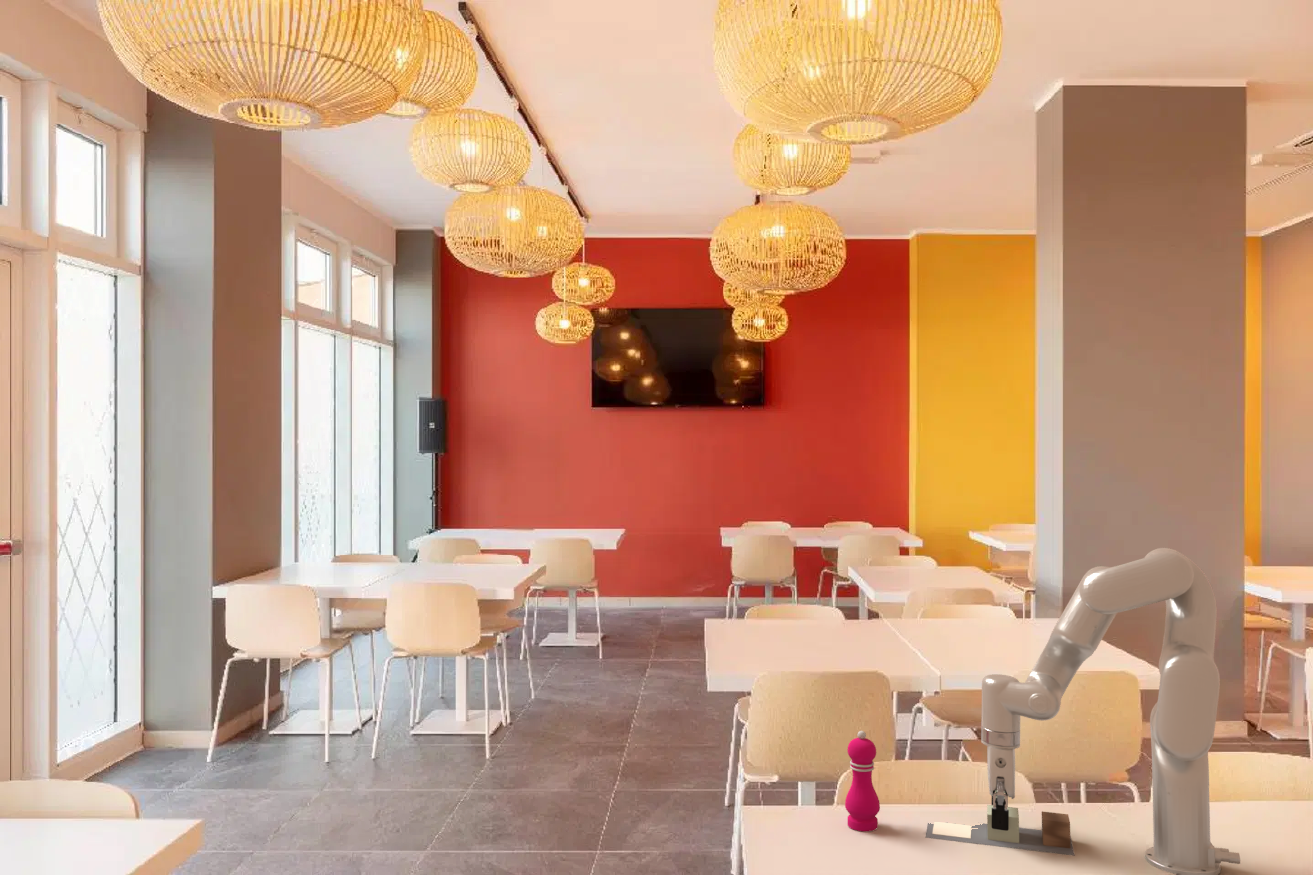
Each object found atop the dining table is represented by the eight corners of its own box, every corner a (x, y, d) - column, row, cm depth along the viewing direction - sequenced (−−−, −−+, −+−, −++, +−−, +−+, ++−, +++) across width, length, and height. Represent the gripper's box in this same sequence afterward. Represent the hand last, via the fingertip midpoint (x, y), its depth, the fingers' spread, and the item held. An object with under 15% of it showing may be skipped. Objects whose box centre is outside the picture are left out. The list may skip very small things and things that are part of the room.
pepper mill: (880, 833, 195) (879, 736, 196) (845, 831, 197) (844, 734, 198) (879, 821, 203) (878, 727, 203) (845, 818, 204) (844, 725, 205)
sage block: (1018, 832, 195) (1018, 807, 195) (1019, 843, 189) (1018, 817, 190) (987, 828, 197) (987, 804, 197) (987, 839, 191) (987, 814, 192)
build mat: (1069, 835, 195) (1069, 832, 195) (1074, 857, 183) (1074, 854, 183) (928, 818, 204) (928, 816, 204) (925, 839, 193) (925, 836, 193)
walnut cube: (1068, 839, 191) (1068, 814, 192) (1070, 848, 187) (1070, 822, 187) (1042, 835, 193) (1041, 811, 193) (1043, 845, 188) (1042, 819, 189)
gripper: (1021, 750, 185) (1020, 838, 184) (1018, 727, 201) (1018, 809, 200) (980, 746, 187) (979, 833, 187) (981, 724, 203) (980, 804, 203)
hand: (999, 820), depth 194 cm, fingers open, 9 cm apart
